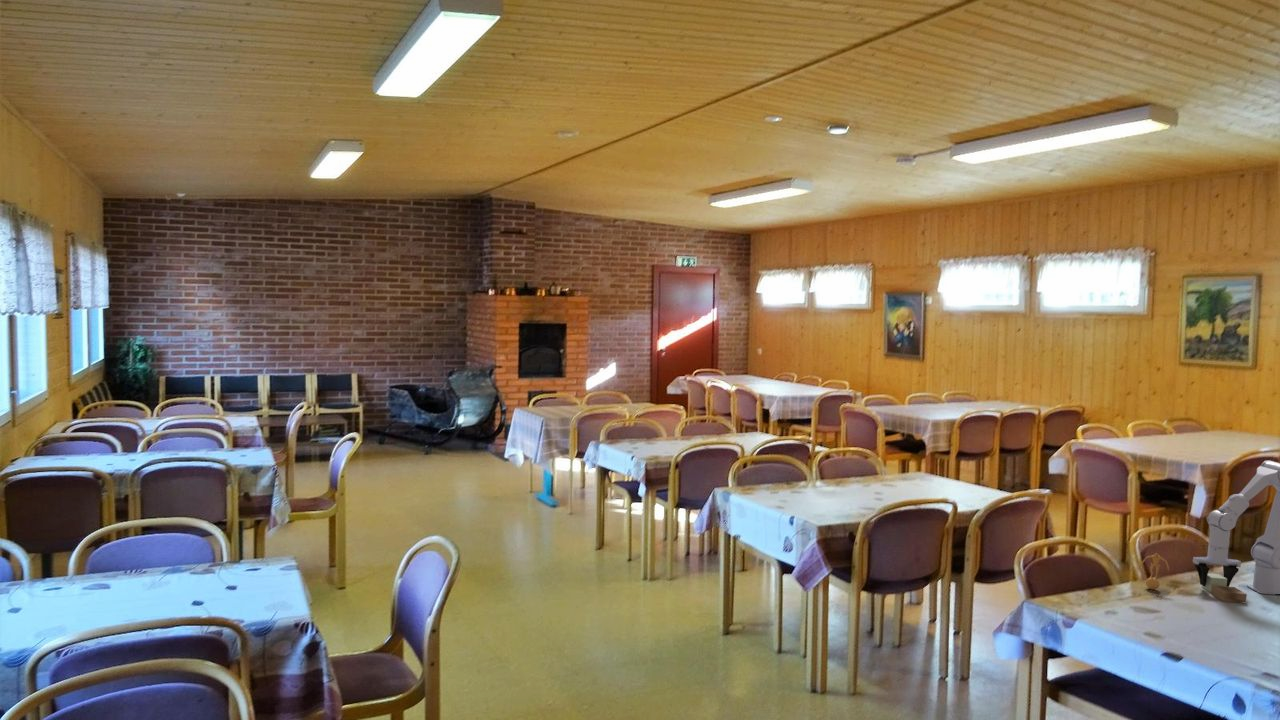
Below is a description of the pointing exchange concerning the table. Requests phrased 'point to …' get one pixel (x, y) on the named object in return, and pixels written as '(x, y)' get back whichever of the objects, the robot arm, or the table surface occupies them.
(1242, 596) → the walnut block
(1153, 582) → the figurine
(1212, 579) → the sage cube
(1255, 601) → the table surface
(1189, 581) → the table surface
